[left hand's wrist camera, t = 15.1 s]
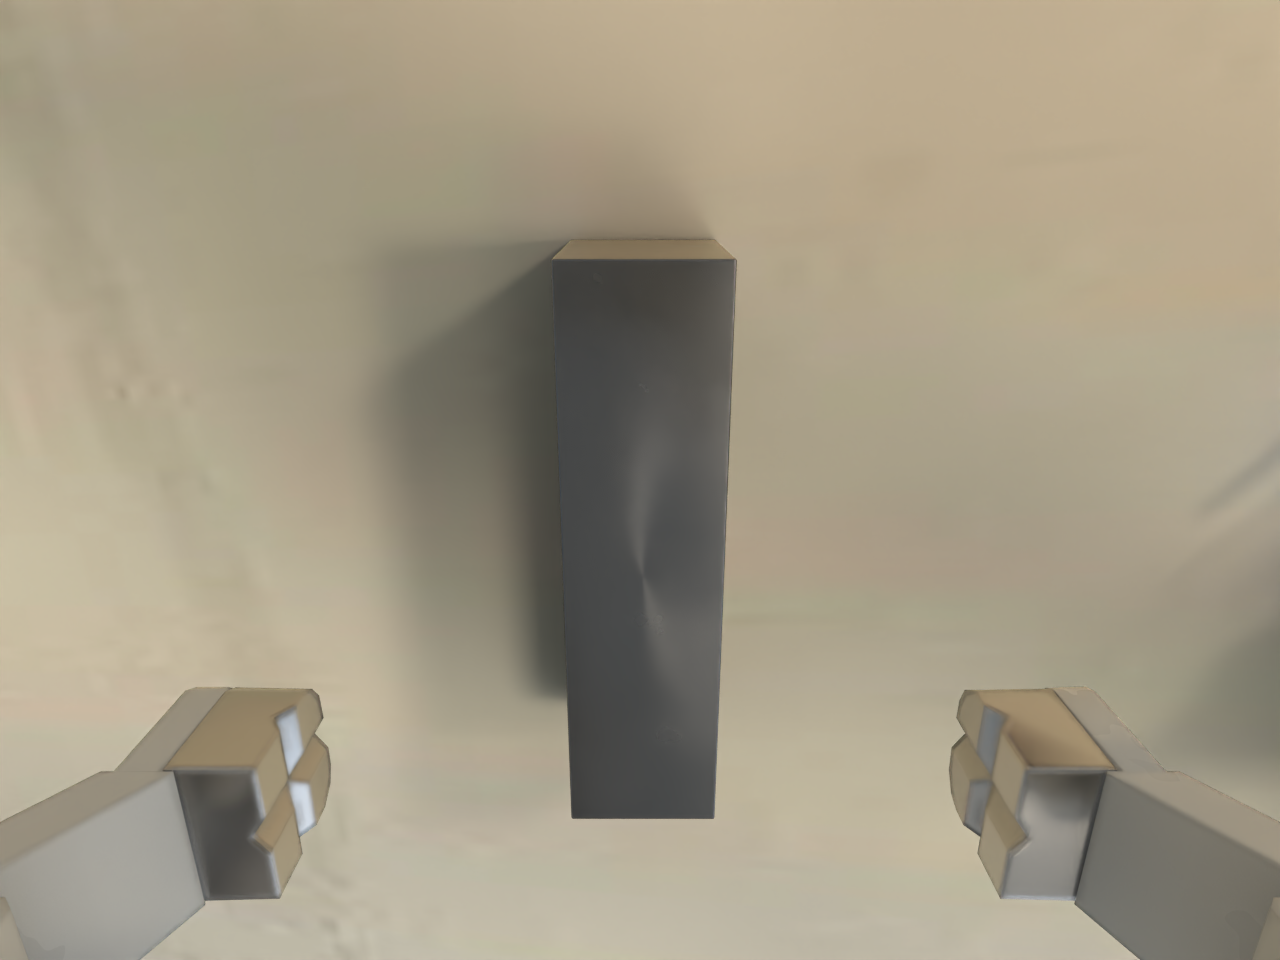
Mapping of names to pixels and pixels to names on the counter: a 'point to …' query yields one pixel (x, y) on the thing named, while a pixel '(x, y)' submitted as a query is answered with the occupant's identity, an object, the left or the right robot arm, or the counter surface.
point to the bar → (643, 517)
